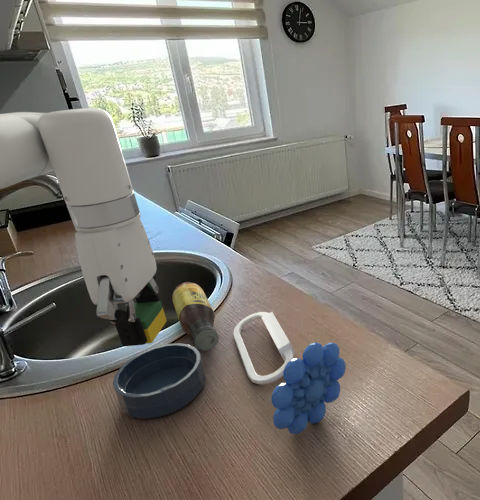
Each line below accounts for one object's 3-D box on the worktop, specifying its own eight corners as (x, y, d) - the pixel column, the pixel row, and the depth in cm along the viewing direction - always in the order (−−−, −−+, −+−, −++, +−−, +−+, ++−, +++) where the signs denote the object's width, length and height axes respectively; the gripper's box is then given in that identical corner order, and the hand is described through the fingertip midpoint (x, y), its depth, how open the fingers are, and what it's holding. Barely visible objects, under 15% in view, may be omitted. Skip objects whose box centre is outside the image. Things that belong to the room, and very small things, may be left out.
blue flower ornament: (329, 384, 63) (321, 317, 58) (359, 408, 58) (352, 336, 53) (261, 427, 56) (246, 354, 51) (288, 458, 51) (274, 380, 46)
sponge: (123, 345, 57) (115, 324, 56) (140, 323, 62) (133, 303, 61) (151, 343, 57) (144, 321, 56) (166, 321, 62) (160, 300, 61)
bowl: (106, 425, 58) (96, 400, 57) (142, 368, 70) (135, 346, 68) (192, 417, 59) (185, 392, 57) (215, 362, 70) (209, 340, 68)
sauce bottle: (208, 292, 89) (235, 339, 73) (185, 312, 88) (208, 364, 72) (187, 273, 85) (210, 318, 69) (162, 294, 84) (181, 345, 68)
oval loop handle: (234, 334, 80) (225, 319, 78) (272, 313, 82) (264, 299, 80) (258, 400, 63) (248, 383, 61) (306, 372, 65) (297, 355, 63)
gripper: (109, 195, 60) (144, 303, 68) (30, 238, 45) (86, 373, 52) (161, 191, 60) (190, 298, 68) (100, 232, 45) (146, 367, 52)
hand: (144, 329), depth 60 cm, fingers closed on sponge, 5 cm apart
